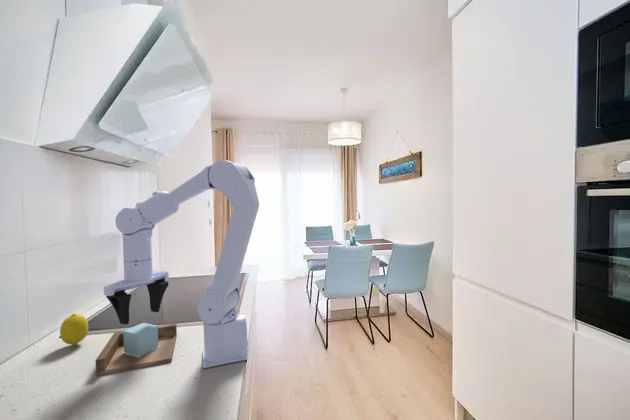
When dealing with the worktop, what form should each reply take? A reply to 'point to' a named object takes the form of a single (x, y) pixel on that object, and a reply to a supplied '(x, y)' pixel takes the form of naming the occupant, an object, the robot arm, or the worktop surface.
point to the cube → (140, 339)
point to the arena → (120, 361)
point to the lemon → (74, 329)
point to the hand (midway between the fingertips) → (140, 317)
